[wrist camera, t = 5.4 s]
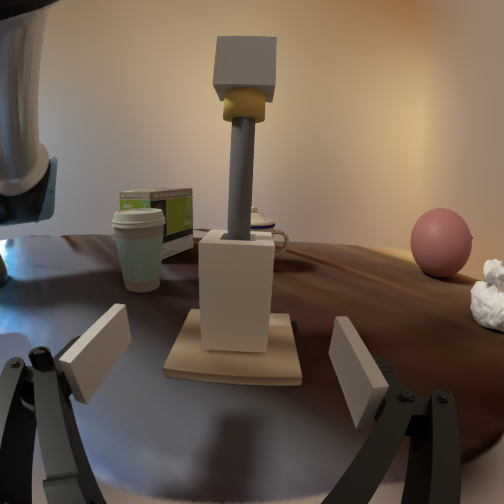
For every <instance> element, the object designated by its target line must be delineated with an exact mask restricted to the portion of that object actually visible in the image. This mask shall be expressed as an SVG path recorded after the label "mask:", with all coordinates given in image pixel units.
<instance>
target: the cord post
mask: <svg viewBox="0 0 504 504" xmlns="http://www.w3.org/2000/svg"><path fill="white" fill-rule="evenodd" d="M276 42H277V38H276V37H262V36H218V37H217V44H216V55H215V64H214V76H213V86H214V88H215V90H216V93H217V95H218V96H219V99H220V101H224V111H223V119H224V120H225V121H229V122H232V133H231V153H230V176H229V203H228V237H227V240H241V241H250V227H251V203H252V182H253V159H254V157H253V156H254V137H255V136H254V135H255V123H259V122H263V121H264V120H265V102H272V100H273V95H274V90H275V81H276Z"/></svg>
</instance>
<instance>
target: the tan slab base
mask: <svg viewBox="0 0 504 504" xmlns="http://www.w3.org/2000/svg"><path fill="white" fill-rule="evenodd" d="M163 373H164V376H165V377H172V378H179V379H187V380H195V381H204V382H215V383H227V384H243V385H270V386H299V385H301V381H302V373H301V368H300V364H299V359H298V354H297V350H296V345H295V340H294V336H293V331H292V327H291V322H290V318H289V314H272V313H270V318H269V330H268V342H267V352H243V351H227V350H213V349H202V344H201V325H200V309H191V310H190V312H189V314H188V316H187V318H186V320H185V322H184V324H183V327H182V329H181V331H180V333H179V335H178V337H177V339H176V341H175V343H174V345H173V347H172V349H171V351H170V354H169V356H168V358H167V360H166V362H165V364H164V366H163Z"/></svg>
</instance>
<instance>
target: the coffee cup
mask: <svg viewBox="0 0 504 504" xmlns="http://www.w3.org/2000/svg"><path fill="white" fill-rule="evenodd" d="M112 222H113V224H112V226H113V227H114V232H115V238H116V244H117V249H118V255H119V260H120V265H121V270H122V274H123V279H124V283H125V287H126V289H127V290H129V291H131V292H137V293H143V292H150V291H153V290H155V289H157V288H158V287H159V286H160V275H161V258H162V243H163V231H164V224H165V223H166V222H165V217H164V215H163V211H162V210H161V209H154V208H140V209H127V210H120V211H117V212H115V215H114V220H113V221H112Z"/></svg>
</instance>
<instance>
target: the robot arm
mask: <svg viewBox="0 0 504 504" xmlns="http://www.w3.org/2000/svg"><path fill="white" fill-rule="evenodd" d="M60 1H62V0H0V227H2V226H9V225H14V224H22V223H29V222H39V221H42V220H47V219H50V218H51V217H52V216H53V214H54V205H55V204H54V203H55V185H56V173H57V158H56V157H52V156H49V155H48V151H47V149H46V148H45V146H44V145H43V144H42V143H40V142H39V130H38V85H39V70H40V59H41V51H42V43H43V37H44V31H45V25H46V20H47V16H48V12H49V11H50V10H51V9H52V8H53V7H54V6H56V5H57V4H58V3H59V2H60ZM7 281H8V274H7V269H6V266H5V264H4V261H3V259H2V257H1V255H0V287H2V286H3V285H4V284H5V283H6V282H7ZM131 341H132V340H131V335H130V329H129V324H128V318H127V311H126V305H124V304H116V303H115V304H114V305H113V306H112V307H111V308H110V309H109V310H108V311H107V312H106V313H105V314H104V315H103V316H102V317H101V318H100V319H99V320H98V321H97V322H95V323H94V324H93V325H92V326H91V327H90V328H89V329H88V330H87V331H86V332H85V333H84V334H83V335H82V336H78V337H76V338H74V339H72V340H71V341H70V342H69V343H68V344H67V345H66V346H65V347H64V348H63V349H62V350H61V351H60V352H59V353H58V354H57V355H56V356H55V357H54V358H52V355H51V352H50V350H49V348H47V347H44V346H40V347H36V348H34V349H32V350H31V351H30V352H29V354H28V356H29V358H30V361H31V363H32V366H33V367H32V366H26V365H25V363H24V360H23V359H21V358H19V357H15V358H11V359H10V360H9V361H7V363H6V364H5V366H4V369H3V371H2V373H1V376H0V504H32V463H33V452H34V441H35V434H36V427H37V429H38V436H39V442H40V448H41V453H42V458H43V463H44V468H45V472H46V477H47V479H46V480H43V487H44V491H45V494H46V498H47V502H48V504H106V502H105V500H104V498H103V496H102V493H101V491H100V489H99V487H98V484H97V482H96V480H95V477H94V475H93V472H92V470H91V467H90V464H89V462H88V459H87V456H86V453H85V450H84V447H83V444H82V441H81V438H80V434H79V431H78V428H77V424H76V420H75V416H74V412H73V408H72V404H71V401H70V399H69V396H70V395H71V394H73V396H74V398H75V400H76V401H78V402H81V403H83V404H86V405H87V404H88V403H89V401H90V400H91V398H92V397H93V395H94V394H95V392H96V391H97V389H98V388H99V386H100V385H101V383H102V382H103V381H104V379H105V378H106V376H107V375H108V373H109V372H110V370H111V369H112V368H113V366H114V365H115V363H116V362H117V361H118V359H119V358H120V356H121V355H122V354H123V352H124V351H125V349H126V348H127V347H128V345H129V344H130V342H131ZM328 354H329V356H330V359H331V361H332V364H333V367H334V369H335V372H336V375H337V377H338V380H339V383H340V385H341V388H342V391H343V394H344V396H345V399H346V402H347V405H348V407H349V410H350V413H351V416H352V419H353V421H354V424H355V427H356V429H357V428H364V427H370V426H371V424H372V422H373V420H374V419H375V421H376V425H375V426H374V428H373V430H372V432H371V433H370V435H369V437H368V438H367V440H366V442H365V443H364V445H363V446H362V448H361V450H360V451H359V453H358V454H357V456H356V457H355V459H354V460H353V462H352V463H351V465H350V466H349V468H348V469H347V470H346V472H345V473H344V475H343V476H342V477H341V479H340V480H339V481H338V483H337V484H336V485H335V487H334V488H333V489H332V491H331V492H330V493H329V494H328V496H327V497H326V498H325V499H324V500H323V502H322V503H321V504H368V503H369V501H370V499H371V498H372V496H373V495H374V493H375V491H376V490H377V488H378V486H379V484H380V483H381V481H382V479H383V477H384V475H385V474H386V472H387V470H388V468H389V466H390V464H391V462H392V460H393V458H394V456H395V454H396V452H397V449H398V447H399V445H400V443H401V441H402V438H403V436H411V438H410V449H409V458H408V466H407V473H406V479H405V485H404V491H403V496H402V501H401V504H460V494H461V454H460V439H459V428H458V419H457V411H456V404H455V398H454V396H453V394H452V393H451V392H449V391H447V390H444V389H438V390H435V391H434V392H433V393H432V395H431V397H418V396H417V395H416V393H415V392H414V391H413V390H411V389H409V388H404V387H403V386H402V385H401V383H400V382H399V380H398V378H397V377H396V375H395V374H394V372H393V371H392V369H391V367H390V366H389V364H388V363H387V361H386V360H385V359H383V358H382V357H381V356H379V355H378V356H371V354H370V353H369V351H368V349H367V348H366V346H365V344H364V343H363V341H362V339H361V338H360V336H359V334H358V333H357V331H356V330H355V328H354V326H353V325H352V323H351V321H350V320H349V318H348V317H336V318H335V324H334V329H333V334H332V339H331V344H330V348H329V353H328Z"/></svg>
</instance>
